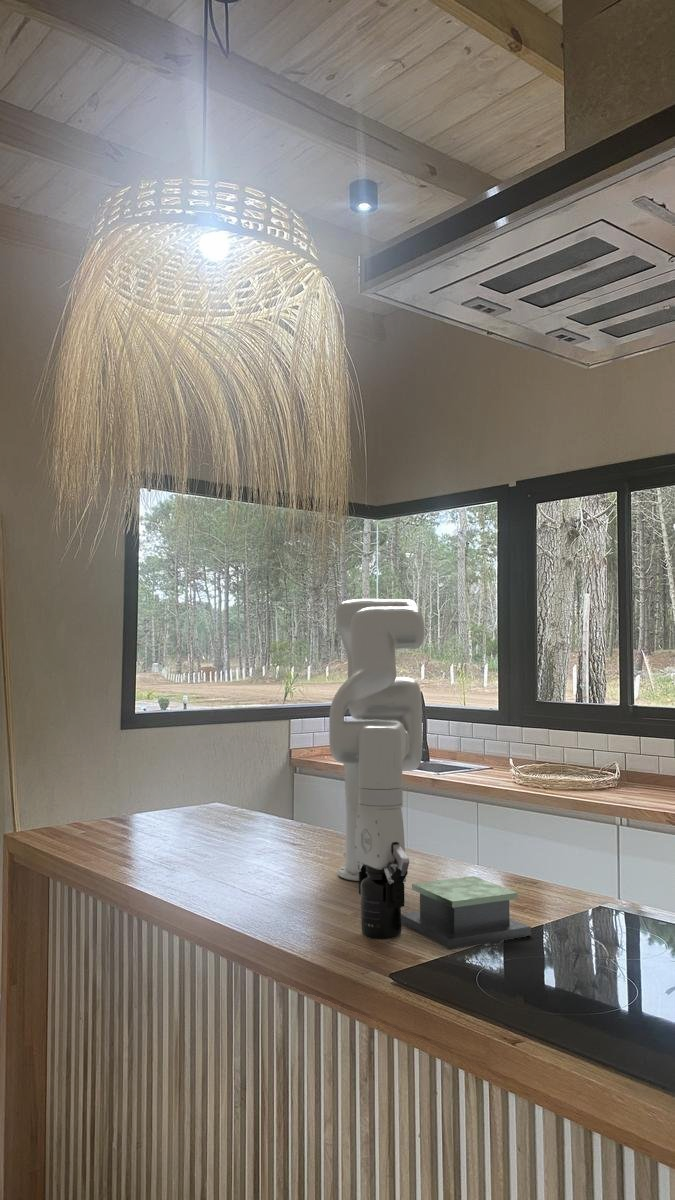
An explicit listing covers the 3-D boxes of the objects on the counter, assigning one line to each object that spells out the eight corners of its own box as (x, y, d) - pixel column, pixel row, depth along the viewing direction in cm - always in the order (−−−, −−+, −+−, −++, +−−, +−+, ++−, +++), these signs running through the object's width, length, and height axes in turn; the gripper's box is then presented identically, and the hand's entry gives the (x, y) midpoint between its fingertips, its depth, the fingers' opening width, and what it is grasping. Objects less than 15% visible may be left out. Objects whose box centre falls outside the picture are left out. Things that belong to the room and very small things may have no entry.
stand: (400, 923, 158) (400, 882, 159) (476, 912, 165) (476, 873, 166) (449, 949, 144) (449, 904, 145) (531, 936, 151) (530, 893, 151)
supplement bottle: (377, 925, 157) (376, 855, 158) (409, 933, 153) (408, 861, 154) (352, 935, 152) (352, 862, 153) (385, 943, 148) (385, 868, 148)
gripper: (338, 793, 160) (339, 892, 158) (385, 805, 144) (386, 915, 143) (376, 790, 163) (376, 887, 162) (425, 803, 148) (426, 910, 146)
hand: (381, 900), depth 152 cm, fingers open, 9 cm apart
